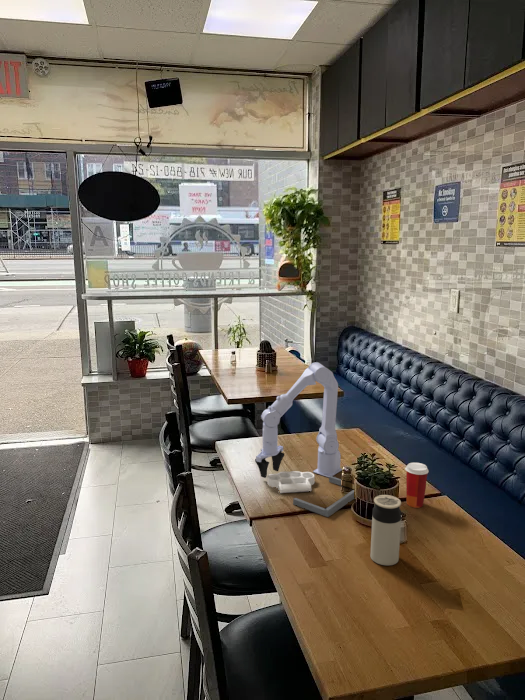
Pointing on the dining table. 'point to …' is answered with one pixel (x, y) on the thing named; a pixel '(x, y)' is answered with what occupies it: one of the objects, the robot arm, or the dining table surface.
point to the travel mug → (386, 530)
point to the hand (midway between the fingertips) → (269, 473)
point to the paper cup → (416, 484)
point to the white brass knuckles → (291, 481)
